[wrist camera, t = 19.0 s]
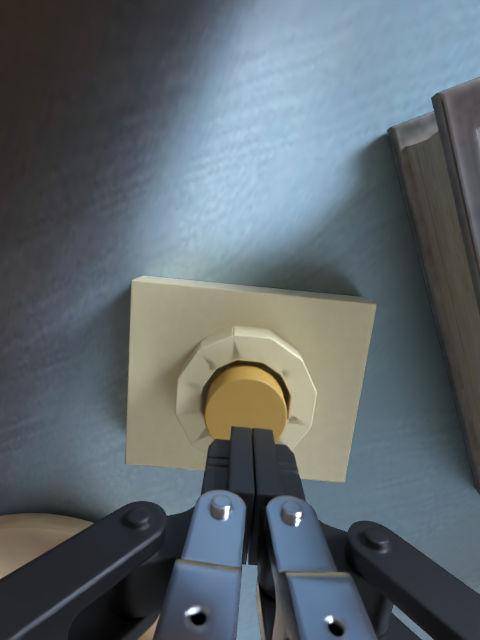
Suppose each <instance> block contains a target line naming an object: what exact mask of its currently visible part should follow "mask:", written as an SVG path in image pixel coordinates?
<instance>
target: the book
mask: <svg viewBox="0 0 480 640" xmlns="http://www.w3.org/2000/svg"><path fill="white" fill-rule="evenodd" d="M431 99H432V104H433V108H434V111H432V112H430V113H427V114H424V115H422V116H419V117H417V118H414V119H411V120H409V121H406V122H403V123H401V124H398V125H396V126H393V127H390V128H389V129H388V130H387V131H388V135H389V139H390V143H391V148H392V152H393V156H394V160H395V164H396V168H397V172H398V176H399V180H400V184H401V188H402V192H403V196H404V200H405V204H406V208H407V212H408V216H409V220H410V224H411V228H412V232H413V236H414V240H415V244H416V248H417V252H418V256H419V260H420V264H421V268H422V272H423V276H424V280H425V284H426V288H427V292H428V296H429V300H430V304H431V308H432V312H433V316H434V320H435V324H436V328H437V332H438V336H439V340H440V344H441V348H442V352H443V356H444V360H445V364H446V368H447V372H448V376H449V380H450V384H451V388H452V392H453V396H454V400H455V404H456V408H457V412H458V416H459V420H460V424H461V428H462V432H463V436H464V440H465V444H466V448H467V452H468V456H469V460H470V464H471V468H472V472H473V476H474V480H475V484H476V488H477V492H478V494H479V495H480V77H478V78H476V79H473V80H470V81H468V82H465V83H462V84H460V85H457V86H455V87H452V88H449V89H447V90H444V91H442V92H439V93H437V94H435V95H434V96H433V97H432V98H431Z"/></svg>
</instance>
